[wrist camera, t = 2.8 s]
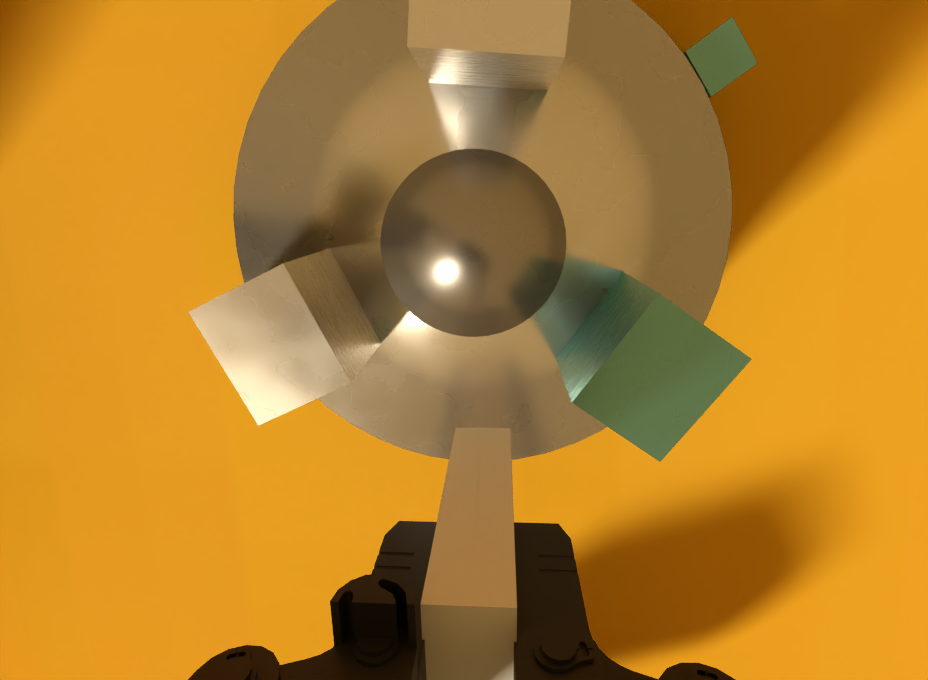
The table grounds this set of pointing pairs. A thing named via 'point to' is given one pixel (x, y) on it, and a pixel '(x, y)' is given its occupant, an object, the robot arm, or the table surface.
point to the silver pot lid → (720, 57)
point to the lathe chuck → (481, 227)
